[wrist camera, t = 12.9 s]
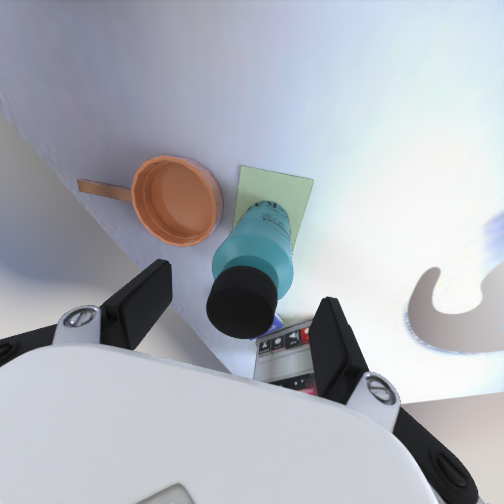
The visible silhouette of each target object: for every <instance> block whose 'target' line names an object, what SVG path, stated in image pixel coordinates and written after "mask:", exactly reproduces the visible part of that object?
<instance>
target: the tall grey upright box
mask: <svg viewBox="0 0 504 504" xmlns="http://www.w3.org/2000/svg"><path fill="white" fill-rule="evenodd" d="M312 321H313V320H311V321H308V322H305V323H302V324H299V325H296V326H293V327H290V328H287V329H284V330H282V331H279V332H276V333H273V334H270V335H267V336H264V337H261V338H258V339H256V343H255V344H256V345H257V354H256V361H255V369H254V377H253V380H256V381H260V382H264V383H268V384H272V385H276V386H279V387H283V388H287V389H291V390H295V391H299V392H303V393H306V394H310V395H314V396H317V397H319V396H318V394H317V388H316V382H315V376H314V369H313V363H312V357H311V351H310V344H309V338H308V330H309V327H310V325H311V323H312Z"/></svg>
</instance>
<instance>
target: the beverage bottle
mask: <svg viewBox="0 0 504 504" xmlns="http://www.w3.org/2000/svg"><path fill="white" fill-rule="evenodd" d="M281 206H282V205H281ZM281 206H280V205H279V204H278V203H275V202H273V201H262V200H261V202H260V201H259V202H258V203H256V202H255V204H254V205H253V206H250V207H249V209H248V210H246V211H247V212H246V211H245V212H246V213H245V215H244V214H243V215H244V216H242V217H241V218H242V219H241V218H240V219H241V220H240V221H239V220H238V224H237V225H236V224H235V225H236V226H235V228H234V229H233V231H232V230H231V231H232V232H231V234H230V235H229V236H228V238H227V239H226V240H225V242H224V243H223V244H222V245H221V246H220V247H219V248H218V249H217V251H216V253H215V255H214V257H213V261H212V272H213V277H214V280H215V282H214V284H213V286H212V289H211V292H210V295H209V297H208V300H207V304H206V311H207V316H208V318H209V320H210V322H211V323H212V324H213V325H214V327H215V328H217V329H218V330H219V331H221V332H222V333H224V334H226V335H228V336H231V337H234V338H239V339H252V338H256V337H259V336H261V335H263V334H265V333H266V332H267V331H268V330H269V329H270V327H271V326H272V324H273V321H274V317H275V310H276V307H277V300H279V299H281V298H282V297H283V296H284V295H285V294H286V293H287V291H288V290H289V288H290V286H291V284H292V280H293V265H292V261H291V245H292V244H291V242H290V241H291V240H290V238H291V237H290V236H291V235H290V234H291V228H290V230H289V224H290V223H289V219H288V216H289V215H288V216H287V213H286V211H285V210H284V209H285V208H284V209H283V208H282V207H281ZM292 255H293V254H292Z"/></svg>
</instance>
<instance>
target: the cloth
mask: <svg viewBox="0 0 504 504" xmlns="http://www.w3.org/2000/svg"><path fill="white" fill-rule="evenodd" d="M313 182H314V180H311V179H306V178H301V177H296V176H291V175H286V174H281V173H276V172H271V171H266V170H261V169H256V168H251V167H245V166H241V169H240V176H239V184H238V191H237V199H236V207H235V214H234V222H233V229H234V228H235V226H236V225H237V224H238V220H239V221H240V220H241V219H242V218H241V217H242V216H244V215H245V213H246V212H247V211H246V210H248V209H249V207H250V206H253V205H254V204H255V202H256V203H258V202H259V201H260V202H261V200H262V201H273V202H275V203H278V204H279V205H280V206H281V205H282V206H281V207H282V208H283V209H284V208H285V209H284V210H285V211H286V213H287V216H288V215H289V216H288V219H289V223H290V224H289V230H290V228H291V234H290V235H291V236H290V237H291V238H290V240H291V241H290V242H291V244H292V245H291V255H292V251H293V248H294V245H295V241H296V238H297V235H298V232H299V228H300V225H301V222H302V218H303V215H304V212H305V209H306V205H307V202H308V199H309V196H310V192H311V189H312V186H313ZM245 211H246V212H245ZM243 214H244V215H243ZM240 218H241V219H240ZM235 224H236V225H235ZM233 229H232V231H233Z"/></svg>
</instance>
